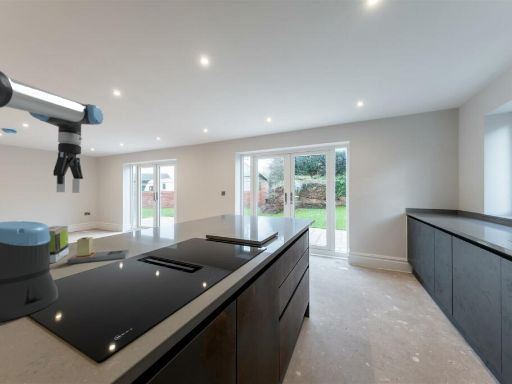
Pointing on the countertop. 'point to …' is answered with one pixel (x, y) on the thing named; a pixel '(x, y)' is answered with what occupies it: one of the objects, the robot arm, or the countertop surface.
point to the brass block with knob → (85, 247)
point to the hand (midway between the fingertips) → (69, 192)
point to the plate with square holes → (99, 256)
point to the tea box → (58, 242)
